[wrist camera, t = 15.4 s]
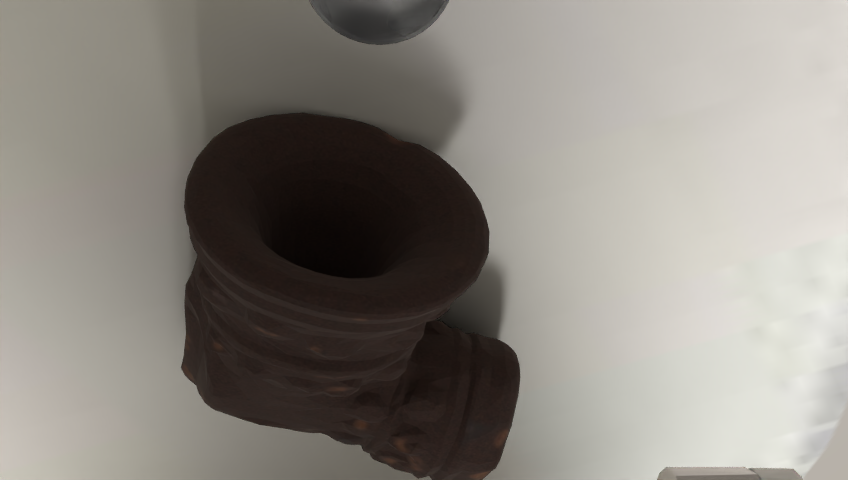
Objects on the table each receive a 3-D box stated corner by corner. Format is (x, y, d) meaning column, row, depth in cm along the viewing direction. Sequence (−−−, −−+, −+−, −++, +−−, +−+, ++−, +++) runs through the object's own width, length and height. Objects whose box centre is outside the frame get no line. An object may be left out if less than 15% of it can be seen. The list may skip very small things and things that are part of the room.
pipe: (470, 547, 37) (604, 364, 27) (141, 485, 35) (147, 261, 25) (476, 373, 44) (585, 173, 34) (200, 312, 42) (225, 80, 32)
